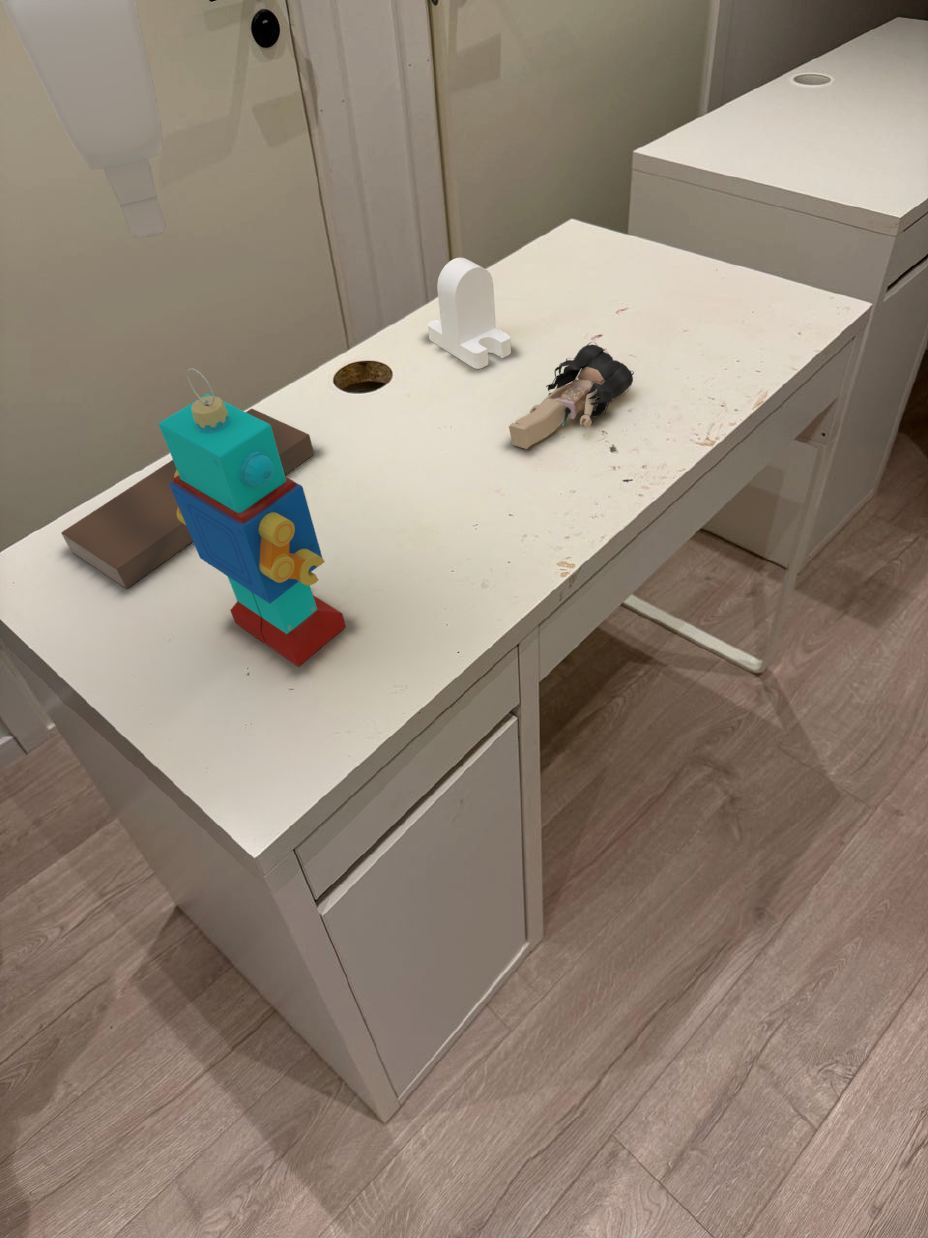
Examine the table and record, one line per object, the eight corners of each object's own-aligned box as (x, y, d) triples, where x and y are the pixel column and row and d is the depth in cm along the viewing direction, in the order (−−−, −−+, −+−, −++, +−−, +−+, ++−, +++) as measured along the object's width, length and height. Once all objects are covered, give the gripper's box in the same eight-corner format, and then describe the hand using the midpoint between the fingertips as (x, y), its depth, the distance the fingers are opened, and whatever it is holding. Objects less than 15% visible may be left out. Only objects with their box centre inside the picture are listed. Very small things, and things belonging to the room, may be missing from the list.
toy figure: (563, 467, 87) (642, 388, 94) (554, 413, 83) (638, 334, 90) (506, 452, 91) (586, 377, 98) (495, 399, 87) (579, 325, 94)
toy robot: (360, 636, 74) (291, 371, 56) (306, 682, 71) (216, 418, 53) (270, 580, 79) (182, 323, 61) (218, 620, 77) (108, 362, 58)
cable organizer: (477, 370, 100) (470, 285, 93) (427, 338, 106) (416, 256, 99) (513, 352, 102) (509, 268, 95) (462, 322, 108) (454, 241, 101)
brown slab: (126, 589, 80) (116, 569, 78) (71, 552, 85) (60, 532, 83) (314, 454, 92) (309, 434, 90) (257, 427, 96) (251, 407, 95)
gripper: (-50, -138, 45) (64, 154, 55) (-55, -85, 31) (97, 289, 41) (77, -157, 46) (165, 131, 56) (124, -114, 32) (229, 256, 42)
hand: (136, 199), depth 48 cm, fingers open, 8 cm apart
